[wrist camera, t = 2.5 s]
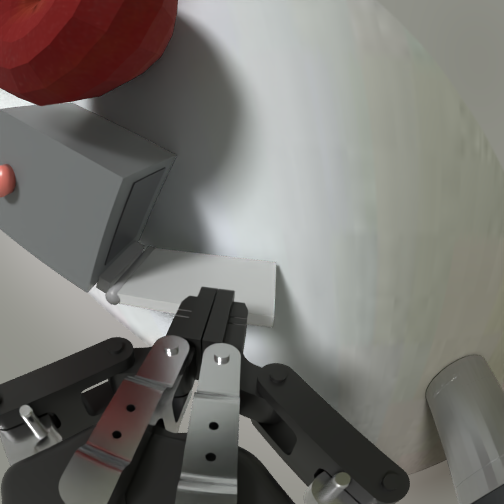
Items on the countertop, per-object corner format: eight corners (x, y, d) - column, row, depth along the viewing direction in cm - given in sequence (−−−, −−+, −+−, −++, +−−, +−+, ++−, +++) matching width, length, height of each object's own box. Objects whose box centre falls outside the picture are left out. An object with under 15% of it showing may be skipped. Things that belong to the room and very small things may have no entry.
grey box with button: (187, 160, 21) (130, 190, 13) (143, 254, 25) (89, 318, 17) (72, 102, 20) (-9, 110, 11) (45, 193, 23) (-25, 229, 15)
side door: (274, 273, 24) (271, 332, 18) (146, 258, 25) (107, 305, 18) (276, 260, 24) (274, 316, 17) (145, 245, 24) (104, 290, 18)
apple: (55, 81, 19) (-69, 89, 7) (113, -33, 14) (16, -88, 2) (162, 126, 20) (37, 148, 8) (236, -5, 16) (187, -114, 4)
